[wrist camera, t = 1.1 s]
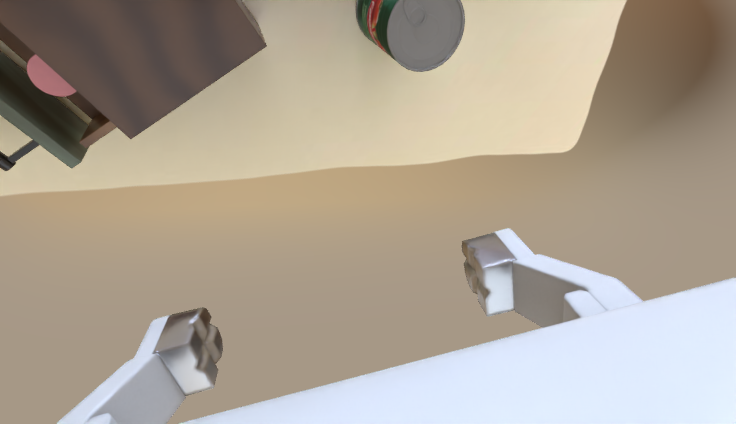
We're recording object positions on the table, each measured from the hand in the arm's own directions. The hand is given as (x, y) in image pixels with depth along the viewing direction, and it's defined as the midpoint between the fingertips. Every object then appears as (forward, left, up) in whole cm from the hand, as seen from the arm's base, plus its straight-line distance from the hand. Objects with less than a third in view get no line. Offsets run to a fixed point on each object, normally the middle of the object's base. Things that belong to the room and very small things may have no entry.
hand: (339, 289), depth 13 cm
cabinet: (-4, -9, -40) cm, 41 cm away
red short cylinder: (-2, -17, -38) cm, 42 cm away
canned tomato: (+3, +15, -40) cm, 43 cm away
